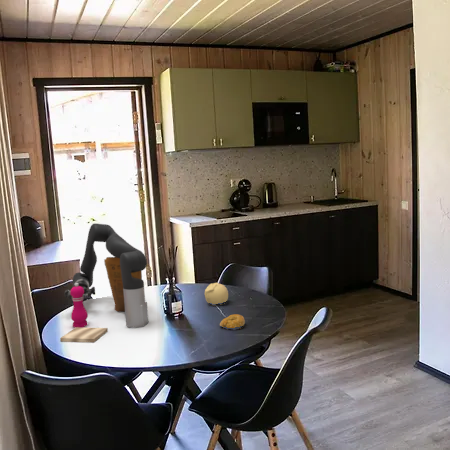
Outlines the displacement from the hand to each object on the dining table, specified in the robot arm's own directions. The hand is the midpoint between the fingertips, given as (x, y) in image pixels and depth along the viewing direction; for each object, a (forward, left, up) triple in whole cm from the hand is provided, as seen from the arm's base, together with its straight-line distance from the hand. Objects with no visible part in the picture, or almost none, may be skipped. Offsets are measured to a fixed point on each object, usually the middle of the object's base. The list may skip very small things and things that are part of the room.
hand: (79, 295), depth 226 cm
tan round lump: (-60, -27, -11) cm, 67 cm away
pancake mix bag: (-18, -13, -11) cm, 25 cm away
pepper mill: (-4, +9, -11) cm, 15 cm away
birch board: (-13, +22, -11) cm, 28 cm away
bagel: (-74, +6, -12) cm, 76 cm away
